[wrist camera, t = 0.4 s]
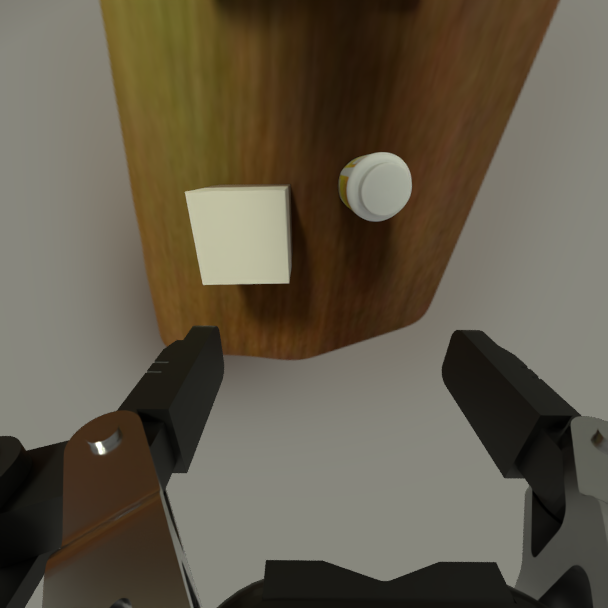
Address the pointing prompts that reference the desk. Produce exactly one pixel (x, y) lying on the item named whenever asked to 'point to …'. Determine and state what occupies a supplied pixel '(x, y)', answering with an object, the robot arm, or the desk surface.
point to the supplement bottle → (375, 185)
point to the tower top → (241, 234)
